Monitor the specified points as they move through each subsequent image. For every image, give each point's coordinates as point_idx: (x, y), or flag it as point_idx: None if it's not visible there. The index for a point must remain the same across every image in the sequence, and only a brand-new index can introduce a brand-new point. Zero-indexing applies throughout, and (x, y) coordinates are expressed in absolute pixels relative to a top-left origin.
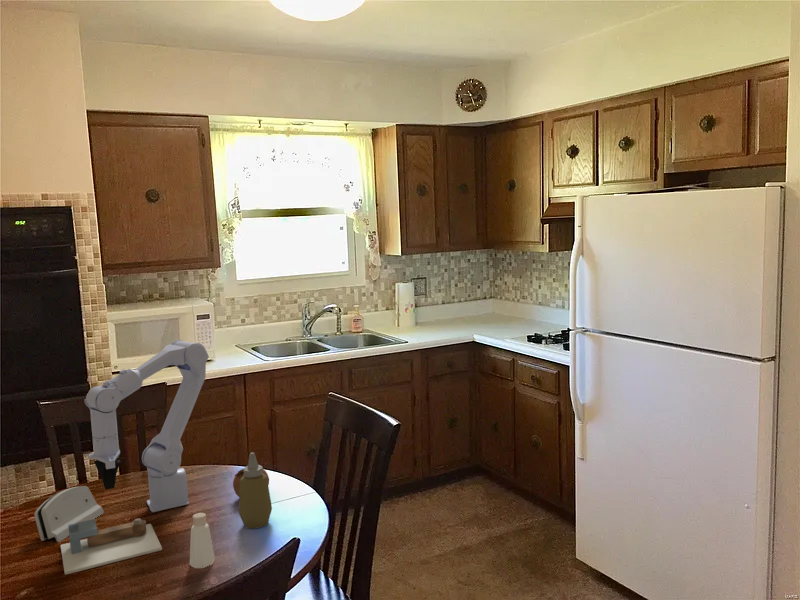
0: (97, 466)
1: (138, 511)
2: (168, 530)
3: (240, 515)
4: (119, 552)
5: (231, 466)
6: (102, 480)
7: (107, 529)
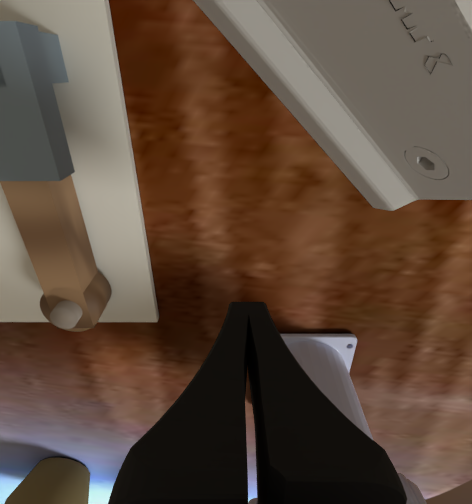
0: (116, 486)
1: (300, 304)
2: (104, 346)
3: (35, 484)
4: None
5: (429, 497)
6: (234, 338)
7: (45, 212)
